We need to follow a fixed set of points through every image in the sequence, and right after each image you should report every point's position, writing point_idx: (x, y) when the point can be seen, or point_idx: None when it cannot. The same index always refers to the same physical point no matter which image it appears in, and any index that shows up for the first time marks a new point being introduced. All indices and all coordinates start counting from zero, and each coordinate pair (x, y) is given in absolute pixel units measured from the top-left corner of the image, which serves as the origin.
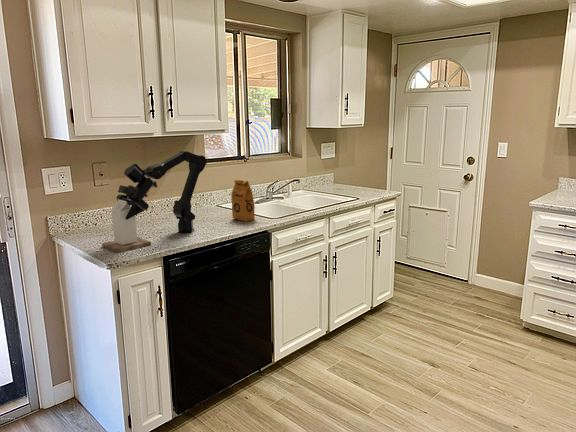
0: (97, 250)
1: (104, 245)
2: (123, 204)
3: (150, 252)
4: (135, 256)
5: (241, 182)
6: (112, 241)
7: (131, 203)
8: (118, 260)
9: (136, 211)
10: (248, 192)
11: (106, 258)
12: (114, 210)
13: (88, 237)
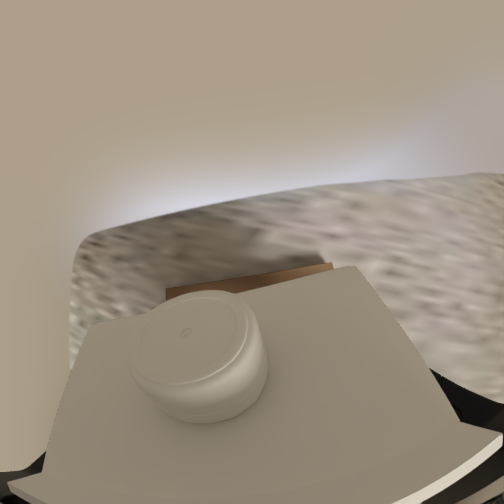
0: (271, 235)
1: (301, 269)
2: (102, 455)
3: None
4: (83, 337)
5: None
6: None
7: (7, 491)
8: (83, 271)
9: None
10: None
11: (130, 241)
12: (242, 293)
13: (489, 248)
